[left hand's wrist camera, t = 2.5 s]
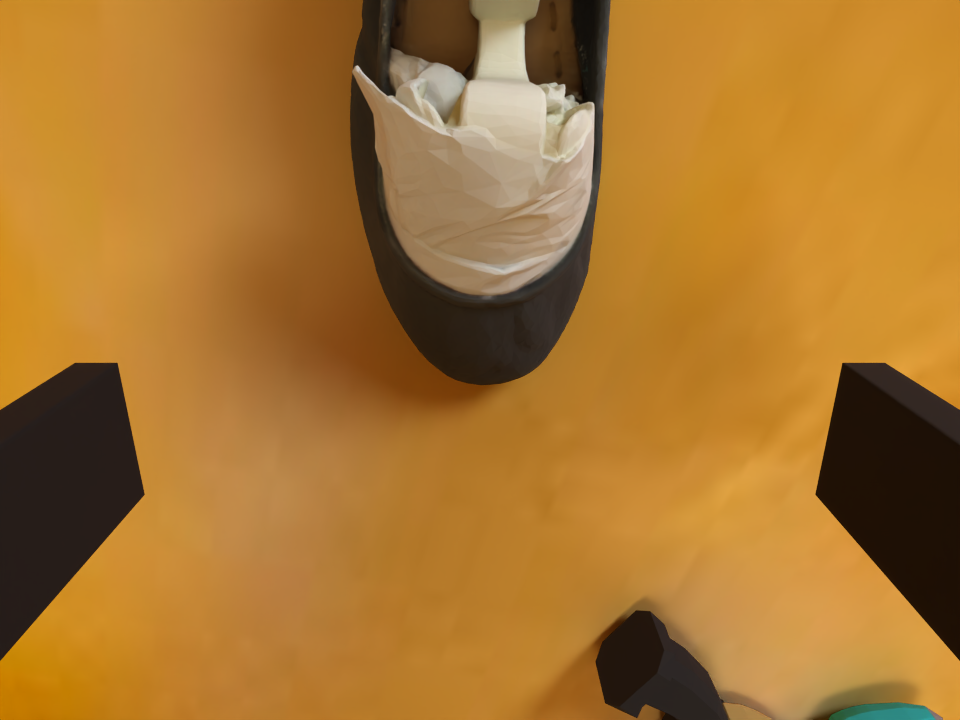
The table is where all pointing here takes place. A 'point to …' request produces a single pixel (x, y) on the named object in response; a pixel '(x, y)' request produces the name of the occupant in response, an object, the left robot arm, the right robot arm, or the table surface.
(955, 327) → the table surface
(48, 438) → the left robot arm
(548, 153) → the ballet flat
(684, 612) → the table surface
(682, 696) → the toy gun
